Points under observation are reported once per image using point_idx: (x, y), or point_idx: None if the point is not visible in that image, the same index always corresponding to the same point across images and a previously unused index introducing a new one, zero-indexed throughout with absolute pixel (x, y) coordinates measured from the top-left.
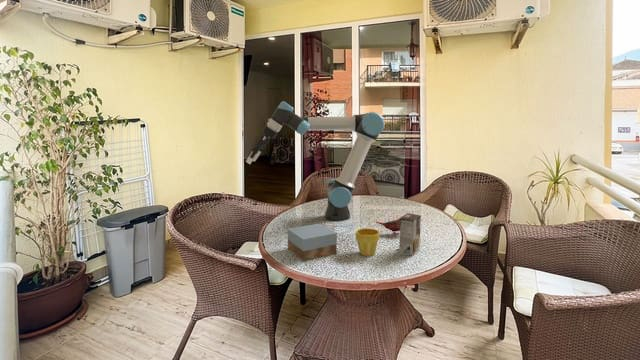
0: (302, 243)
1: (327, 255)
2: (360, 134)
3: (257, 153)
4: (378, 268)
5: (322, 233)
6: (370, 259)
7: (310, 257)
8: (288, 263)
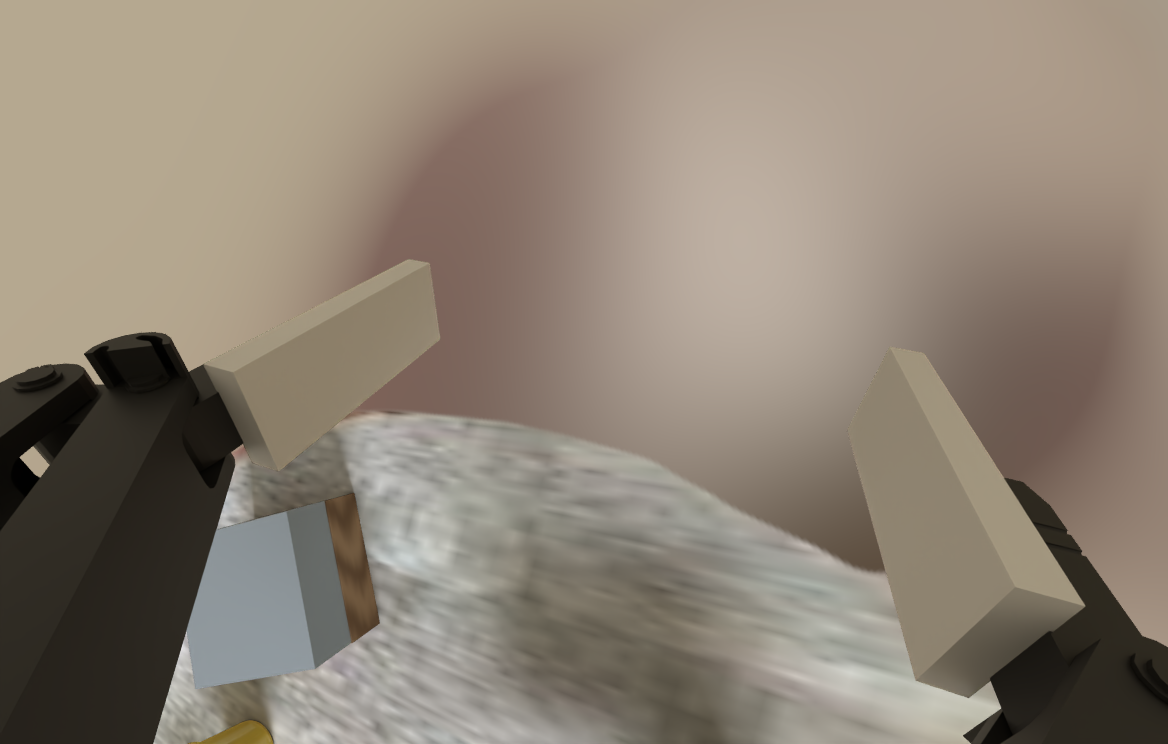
0: None
1: None
2: None
3: (919, 546)
4: None
5: (205, 633)
6: (213, 726)
7: None
8: (253, 470)
